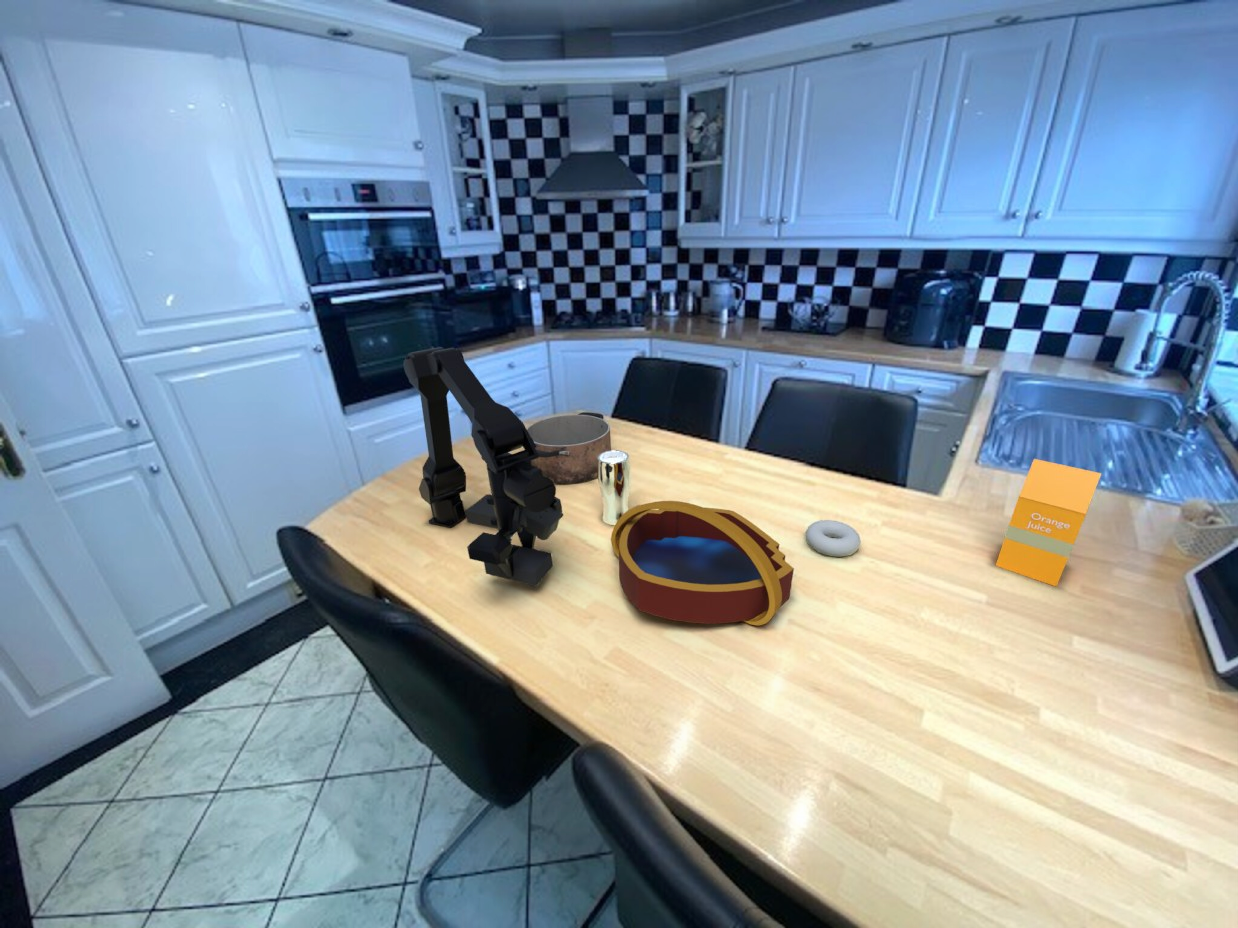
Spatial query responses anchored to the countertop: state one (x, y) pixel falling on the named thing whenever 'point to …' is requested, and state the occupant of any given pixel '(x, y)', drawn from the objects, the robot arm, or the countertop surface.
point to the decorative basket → (699, 564)
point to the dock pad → (481, 513)
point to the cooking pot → (570, 446)
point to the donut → (841, 546)
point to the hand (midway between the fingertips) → (520, 565)
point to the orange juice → (1047, 520)
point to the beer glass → (614, 484)
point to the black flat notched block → (525, 566)
